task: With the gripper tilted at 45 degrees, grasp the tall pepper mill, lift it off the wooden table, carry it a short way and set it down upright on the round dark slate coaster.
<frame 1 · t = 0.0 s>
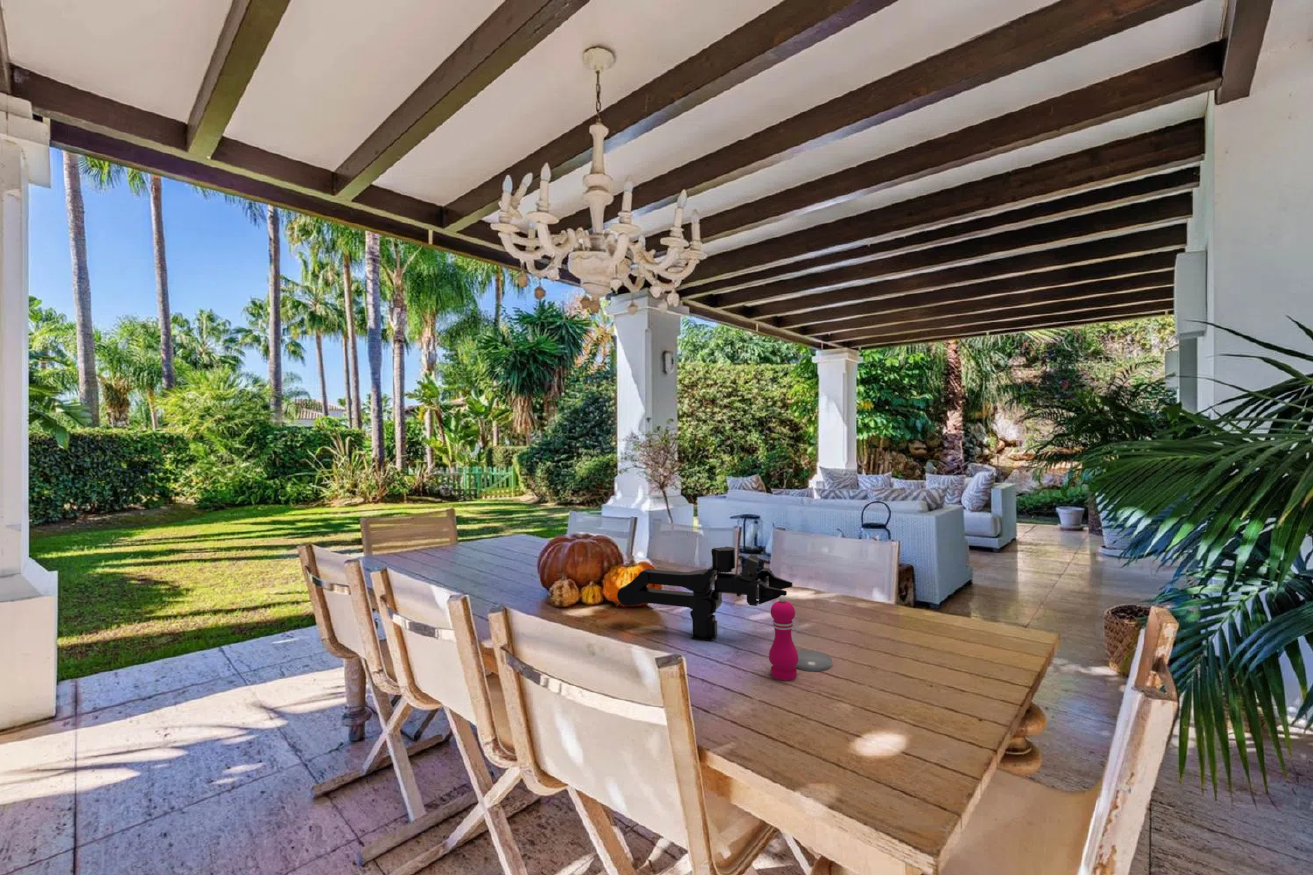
hand: (789, 588, 163), 17 cm above the table, tool horizontal, fingers open, 9 cm apart
slate coaster: (810, 662, 152), on the table
pepper mill: (783, 675, 145), on the table
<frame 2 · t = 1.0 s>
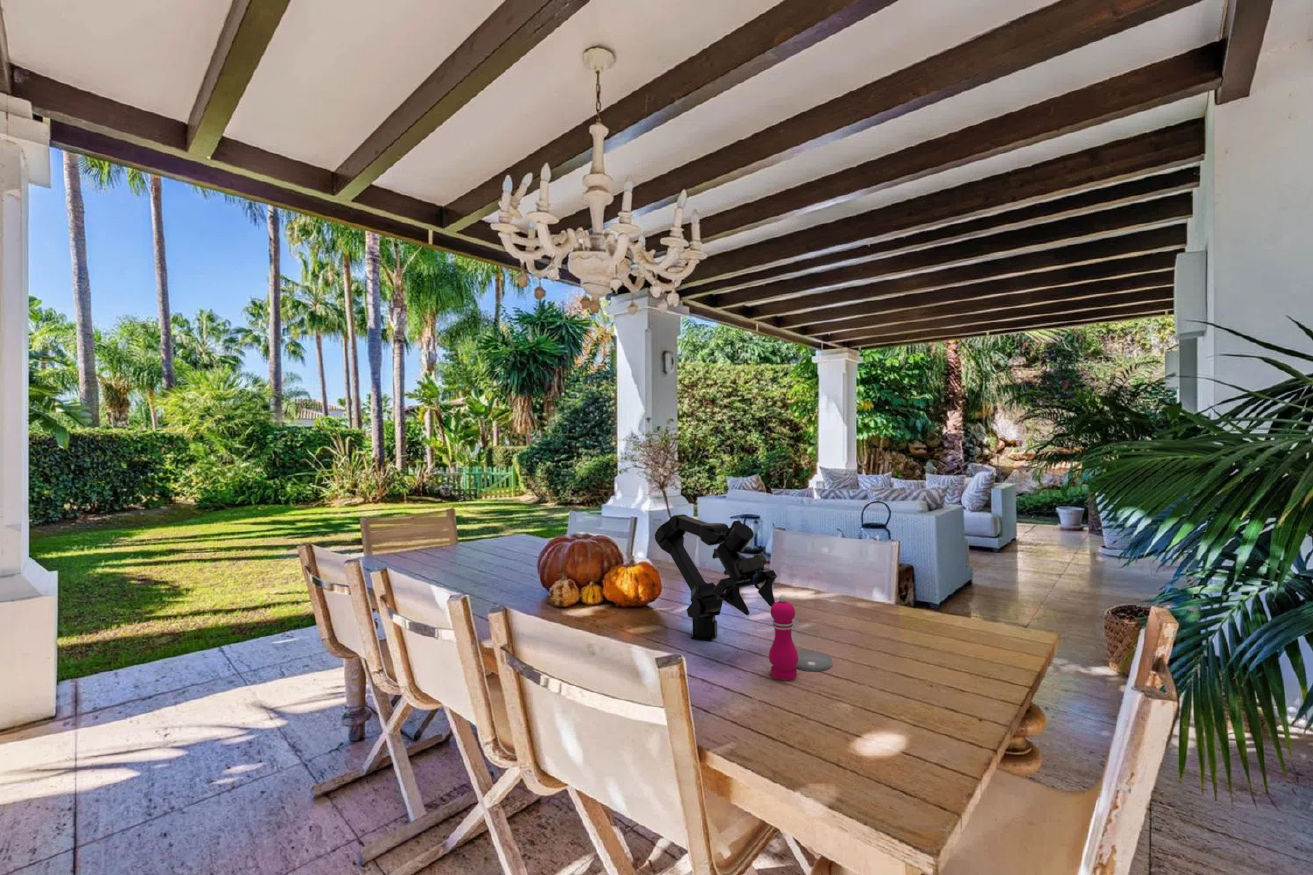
hand: (761, 611, 152), 14 cm above the table, tool tilted 45°, fingers open, 9 cm apart
nothing on the table moved.
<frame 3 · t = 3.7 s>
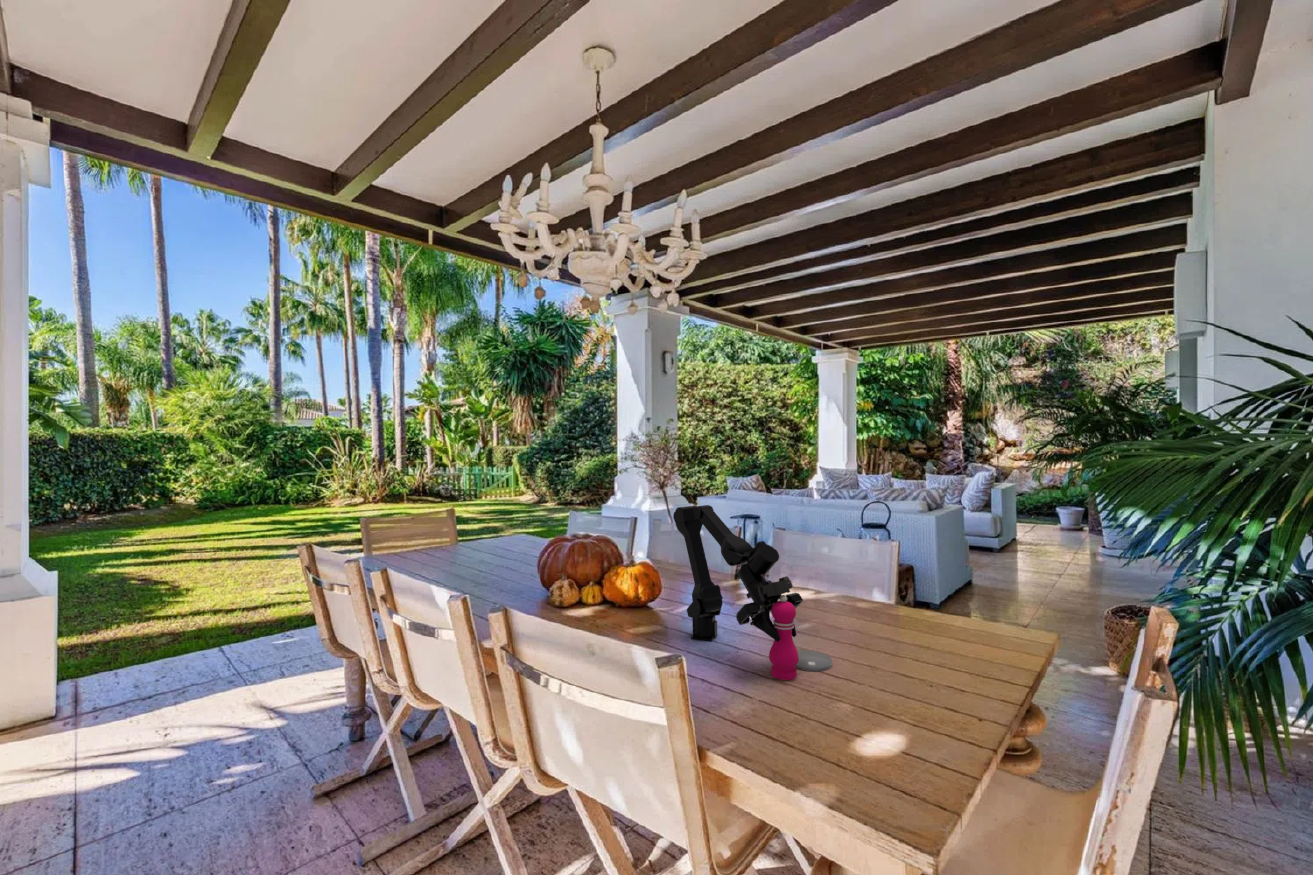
hand: (787, 638, 144), 10 cm above the table, tool tilted 45°, fingers closed on pepper mill, 5 cm apart
pepper mill: (783, 675, 145), on the table, touching gripper
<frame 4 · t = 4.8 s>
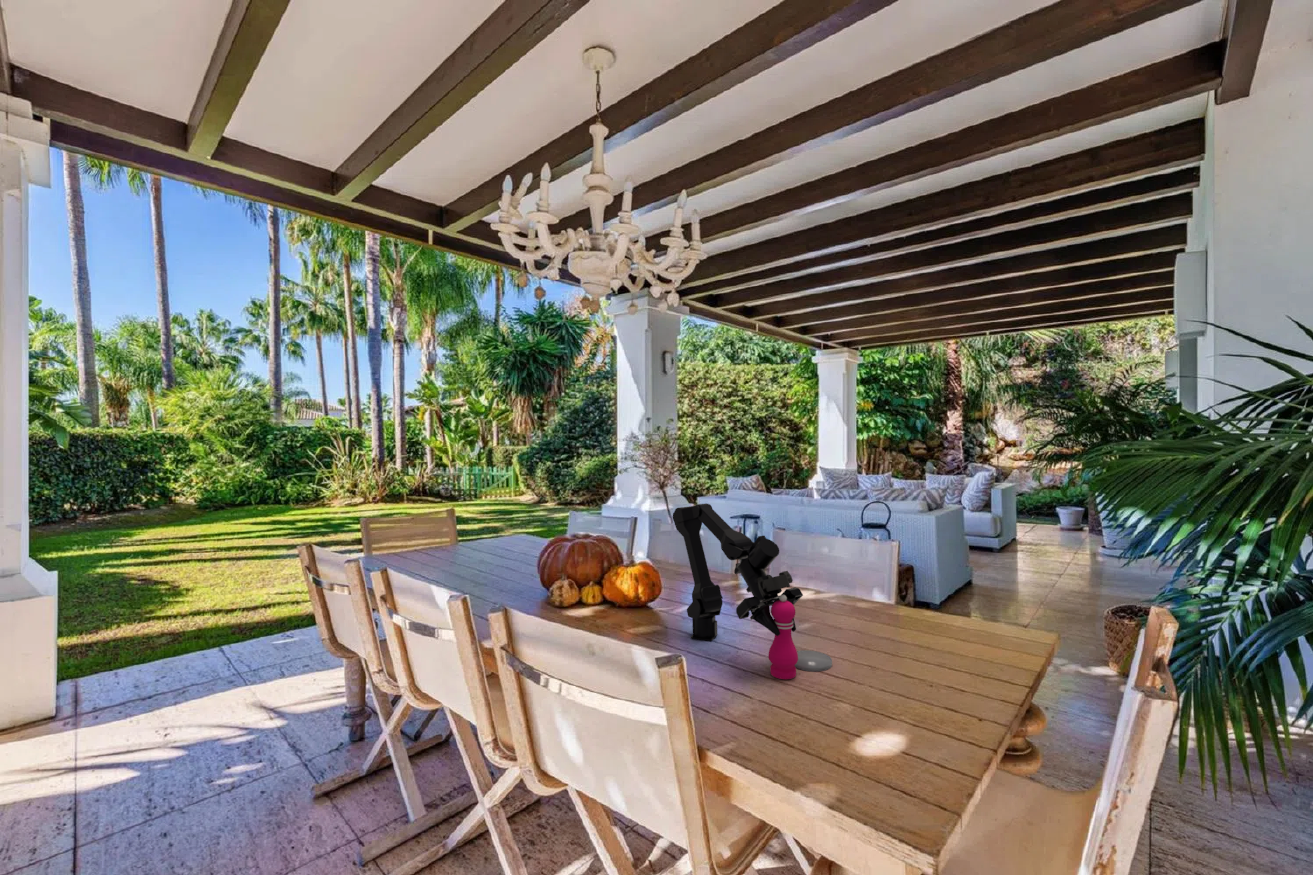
hand: (786, 632, 144), 11 cm above the table, tool tilted 45°, fingers closed on pepper mill, 5 cm apart
pepper mill: (783, 674, 145), on the table, touching gripper
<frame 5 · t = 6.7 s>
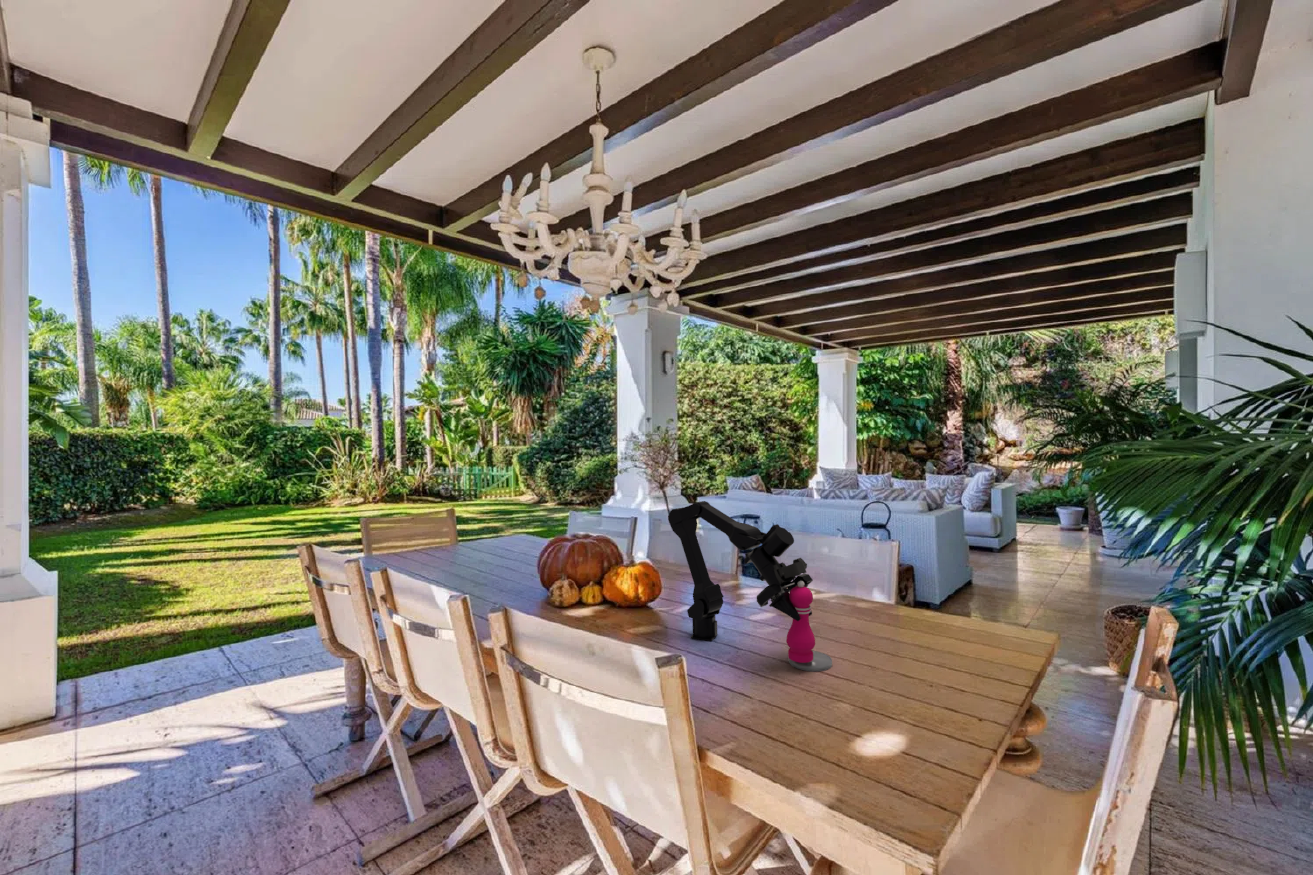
hand: (805, 617, 148), 13 cm above the table, tool tilted 45°, fingers closed on pepper mill, 5 cm apart
pepper mill: (800, 658, 149), point 2 cm above the table, touching gripper
when the fingers open (12 cm above the table, at t = 8.4 s): pepper mill stays where it is, resting on slate coaster.
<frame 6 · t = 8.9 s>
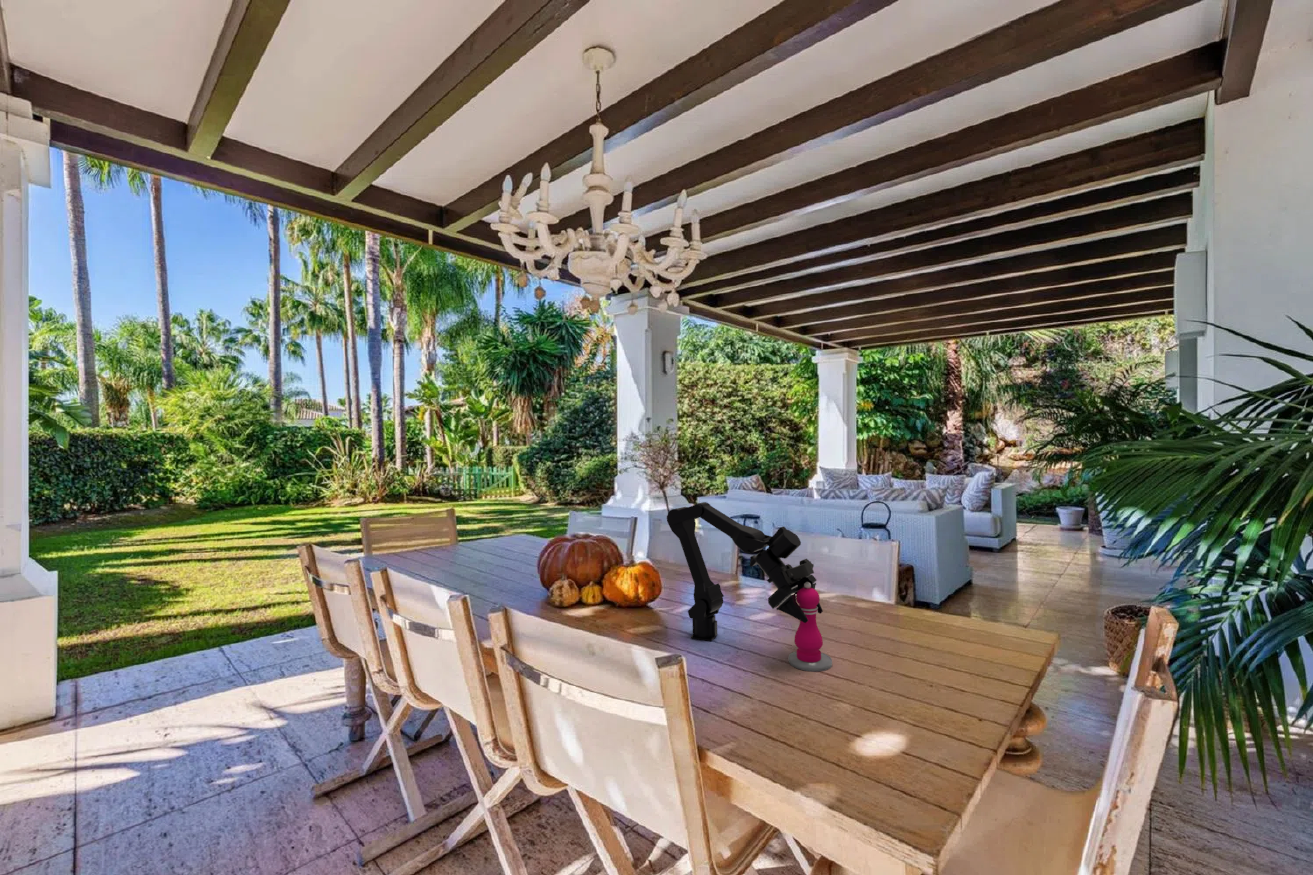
hand: (814, 617, 151), 12 cm above the table, tool tilted 45°, fingers open, 9 cm apart
pepper mill: (808, 658, 153), point 1 cm above the table, touching slate coaster
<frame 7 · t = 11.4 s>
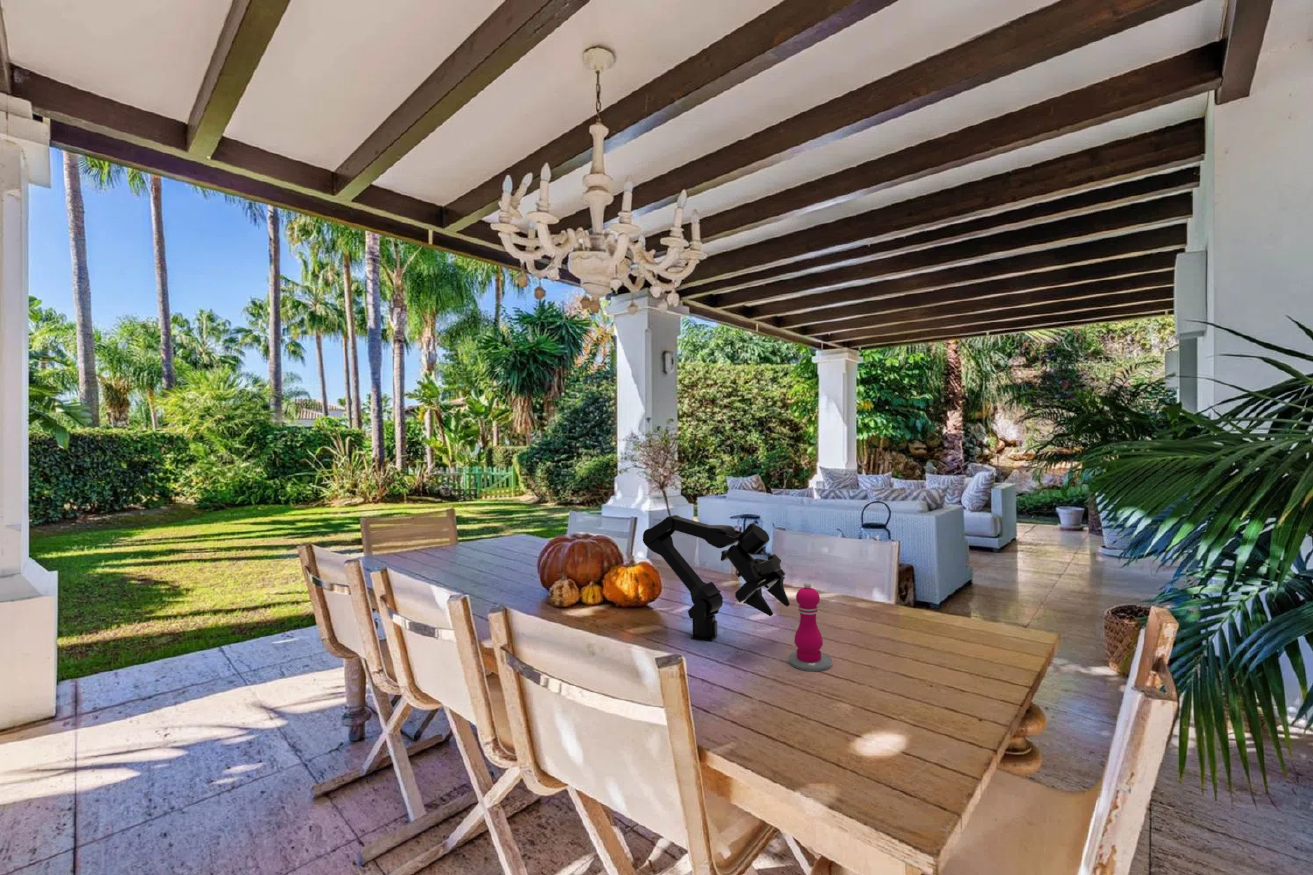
hand: (780, 610, 157), 12 cm above the table, tool tilted 45°, fingers open, 9 cm apart
nothing on the table moved.
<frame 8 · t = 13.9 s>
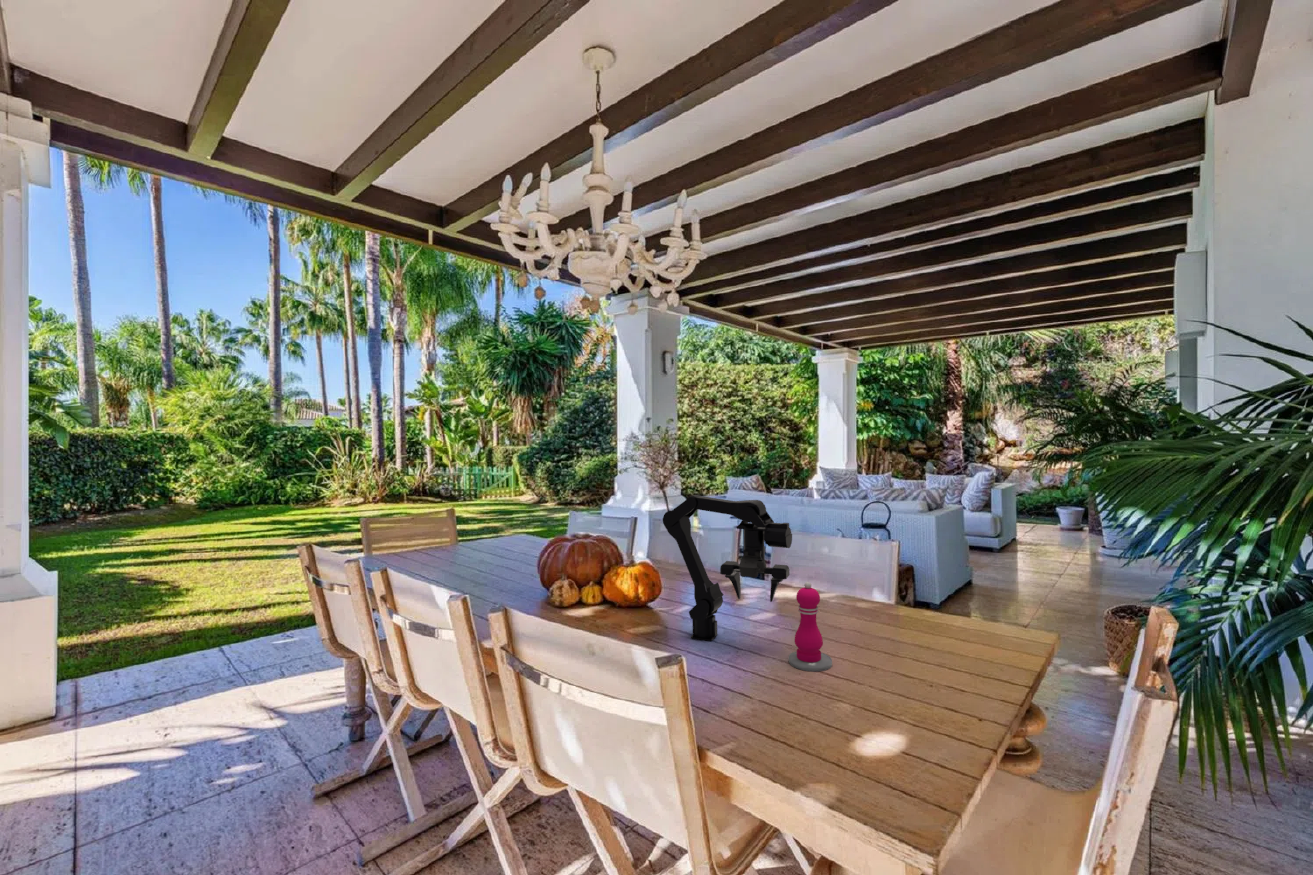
hand: (755, 600, 165), 13 cm above the table, tool pointing down, fingers open, 9 cm apart
nothing on the table moved.
at the end: pepper mill 0.3 cm off-centre on the slate coaster, point 1.0 cm above the slate coaster's base; pepper mill tilted 0°; the gripper is holding nothing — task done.
